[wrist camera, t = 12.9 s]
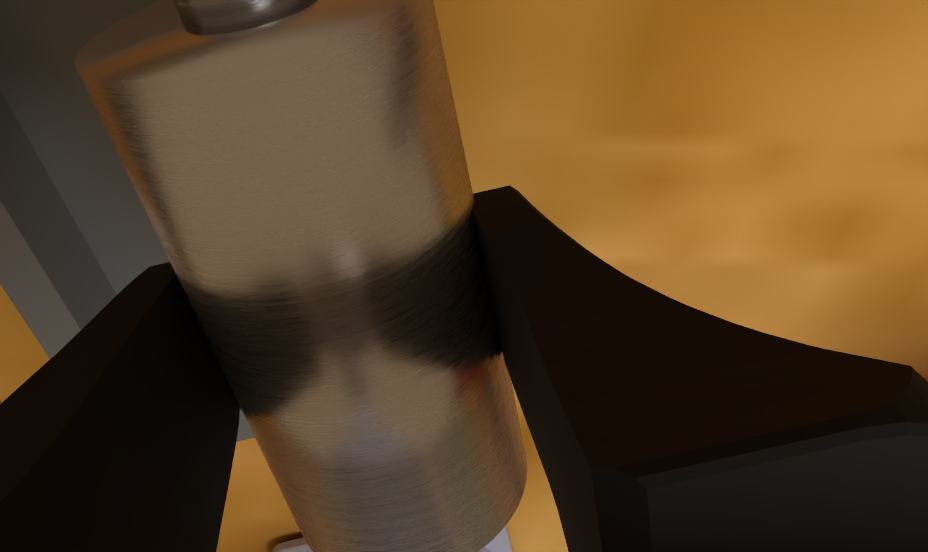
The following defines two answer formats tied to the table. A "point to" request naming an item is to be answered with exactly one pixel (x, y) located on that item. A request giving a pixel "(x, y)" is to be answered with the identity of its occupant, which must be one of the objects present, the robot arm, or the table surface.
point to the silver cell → (326, 253)
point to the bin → (64, 176)
